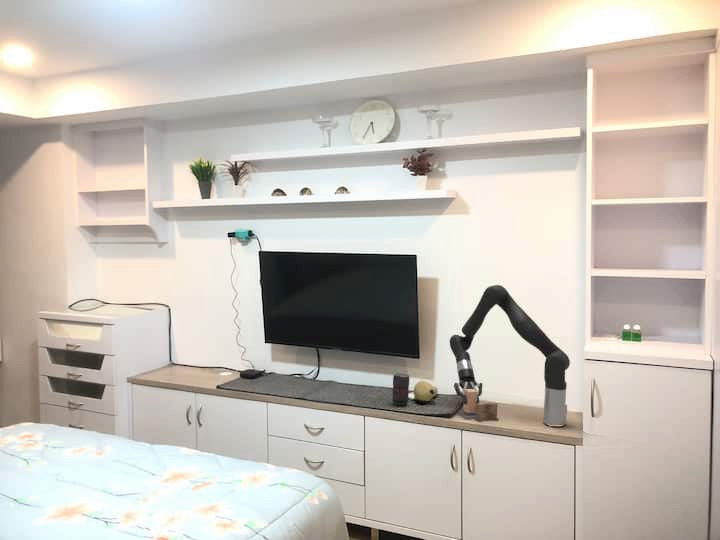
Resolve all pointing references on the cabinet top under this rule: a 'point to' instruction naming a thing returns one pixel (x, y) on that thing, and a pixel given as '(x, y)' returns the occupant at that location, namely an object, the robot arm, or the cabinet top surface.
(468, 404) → the salmon pink rectangular block
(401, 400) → the camera lens
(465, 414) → the slate pad
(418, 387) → the yellow round lump
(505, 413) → the cabinet top surface
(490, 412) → the walnut board
